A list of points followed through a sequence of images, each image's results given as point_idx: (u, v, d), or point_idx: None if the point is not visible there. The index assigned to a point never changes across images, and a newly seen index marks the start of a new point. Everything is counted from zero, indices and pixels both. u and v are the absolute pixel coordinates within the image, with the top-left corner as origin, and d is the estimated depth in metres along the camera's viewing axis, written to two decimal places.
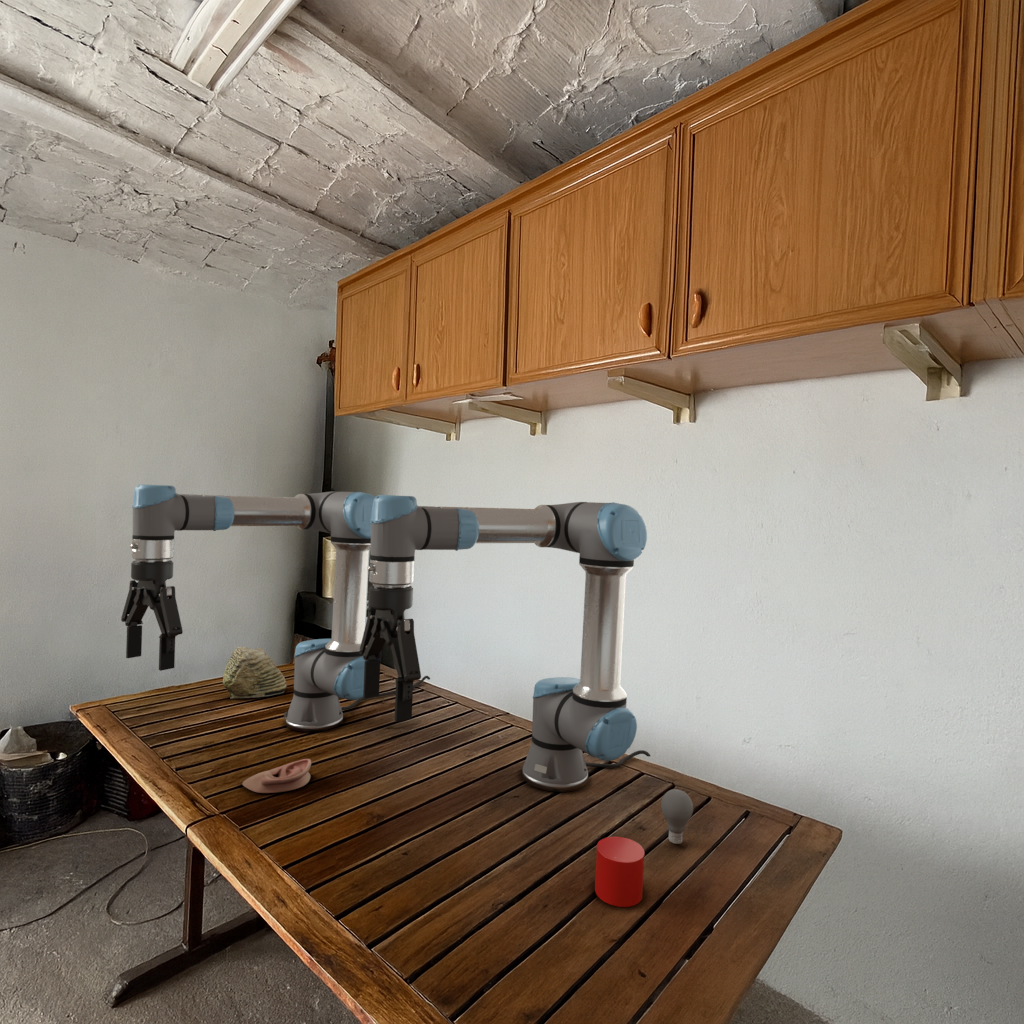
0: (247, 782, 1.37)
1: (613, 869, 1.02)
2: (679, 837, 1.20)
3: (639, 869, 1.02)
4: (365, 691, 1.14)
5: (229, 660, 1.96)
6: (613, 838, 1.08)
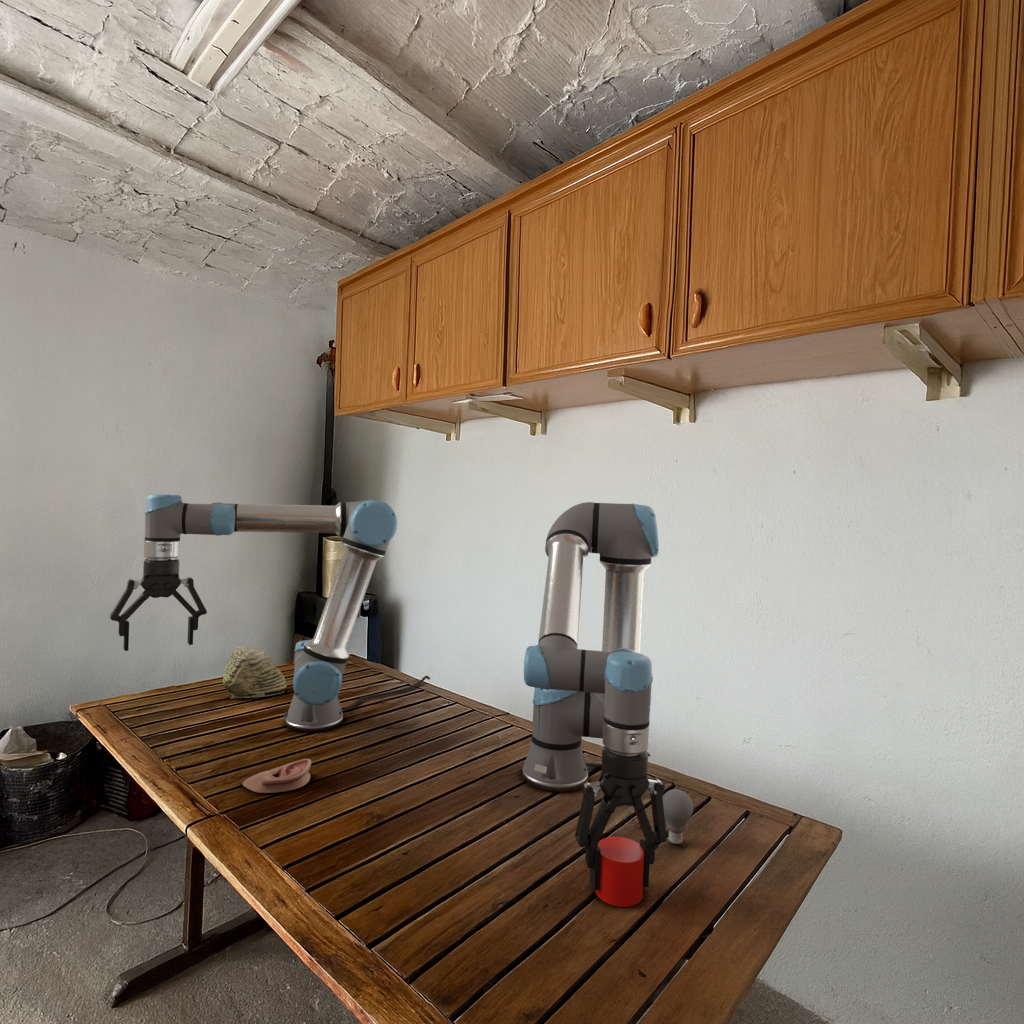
0: (247, 782, 1.37)
1: (613, 869, 1.02)
2: (679, 837, 1.20)
3: (639, 869, 1.02)
4: (598, 882, 1.03)
5: (229, 660, 1.96)
6: (613, 838, 1.08)
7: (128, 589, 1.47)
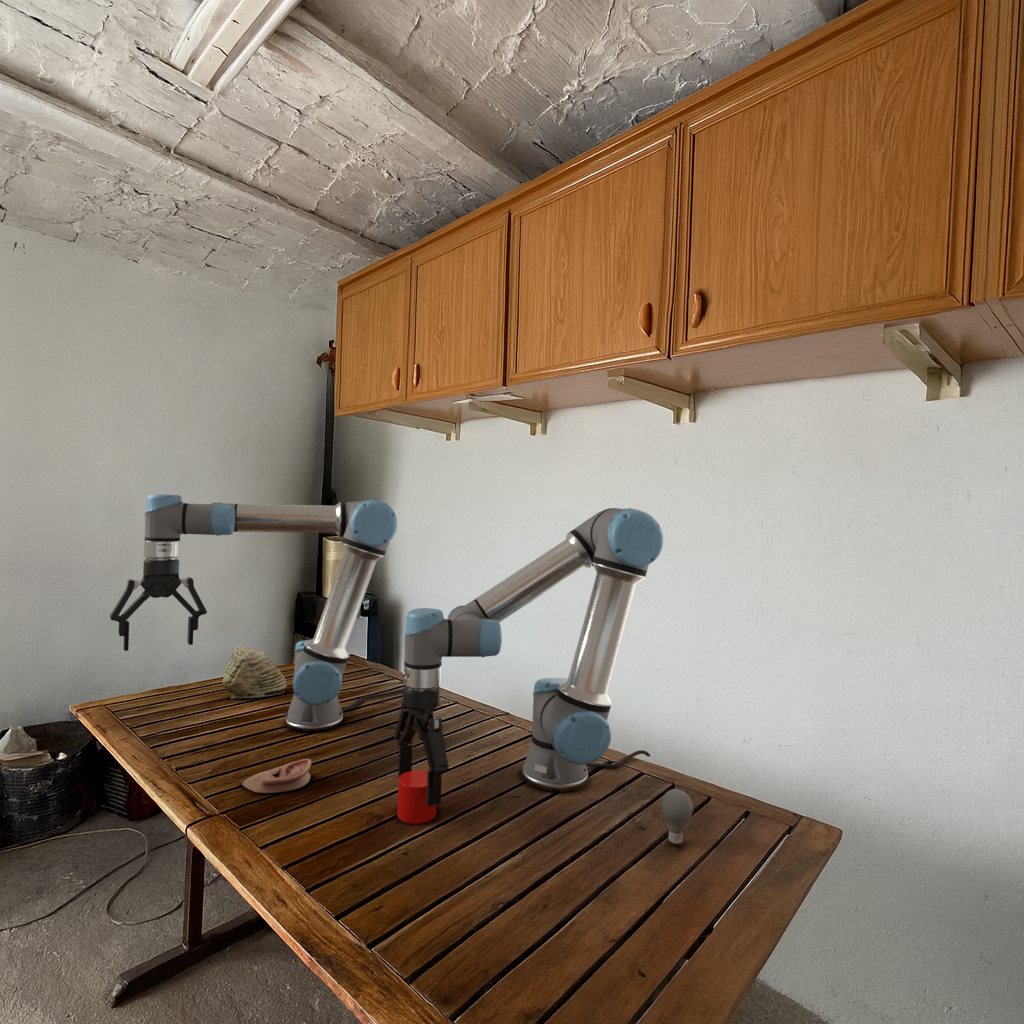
0: (247, 782, 1.37)
1: None
2: (679, 837, 1.20)
3: (407, 794, 1.25)
4: (400, 773, 1.33)
5: (229, 660, 1.96)
6: None
7: (128, 589, 1.47)
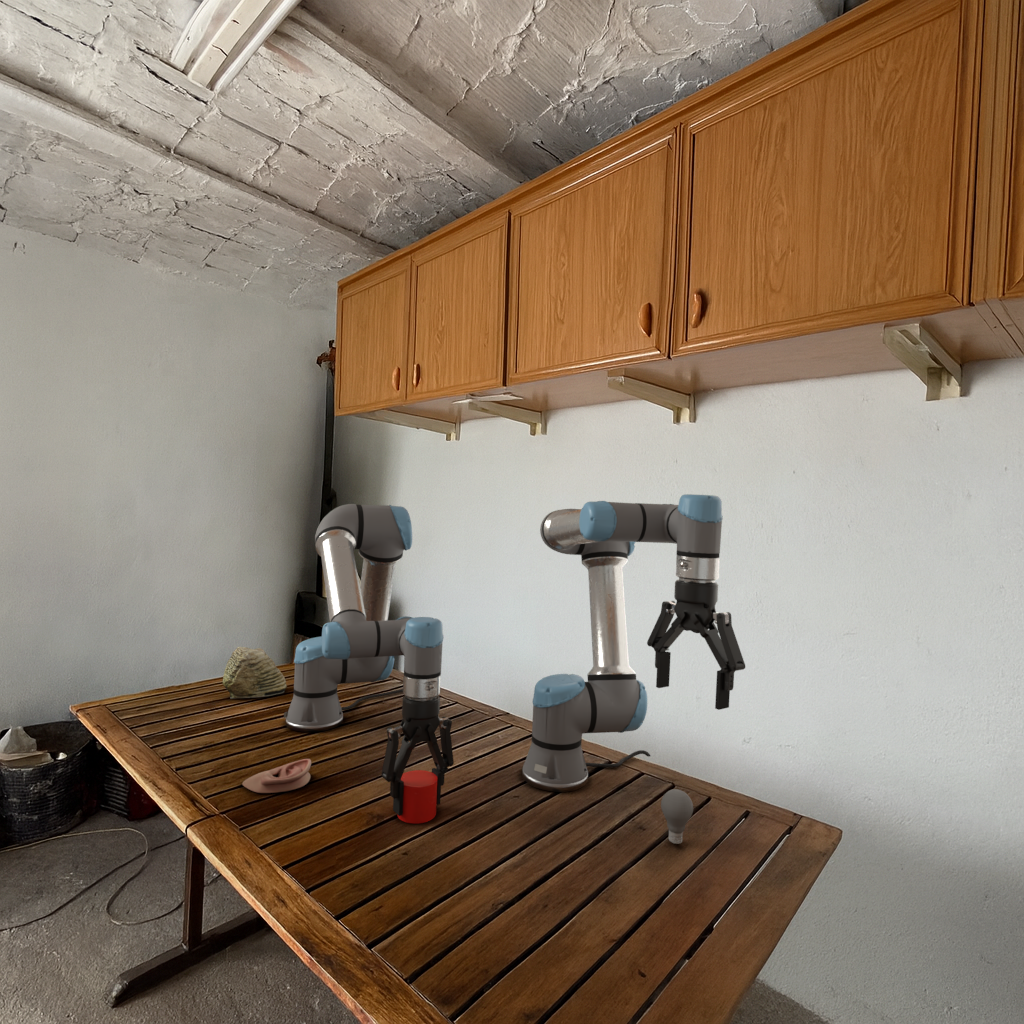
0: (247, 782, 1.37)
1: None
2: (679, 837, 1.20)
3: (407, 794, 1.25)
4: (659, 681, 1.19)
5: (229, 660, 1.96)
6: (432, 774, 1.30)
7: (394, 742, 1.23)
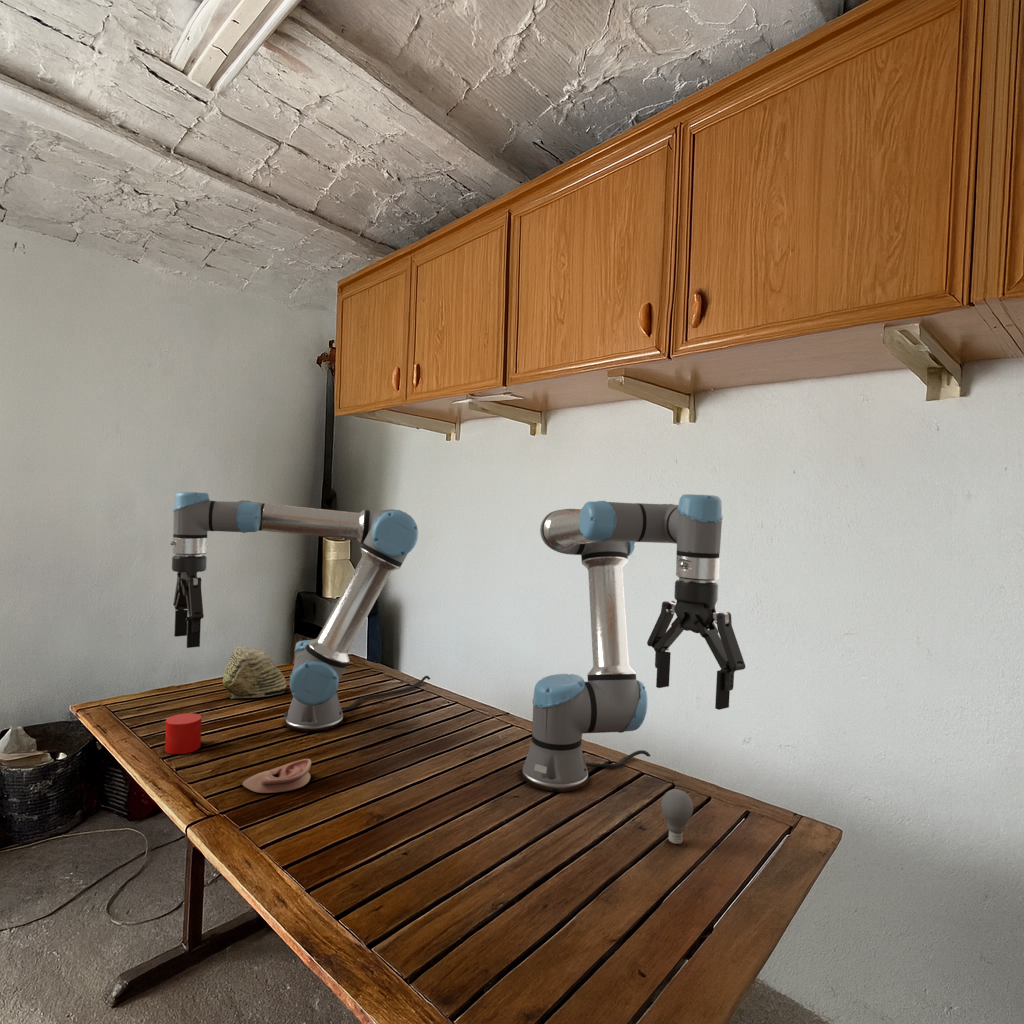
0: (247, 782, 1.37)
1: None
2: (679, 837, 1.20)
3: None
4: (659, 681, 1.19)
5: (229, 660, 1.96)
6: (186, 722, 1.53)
7: (177, 580, 1.59)
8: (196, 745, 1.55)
